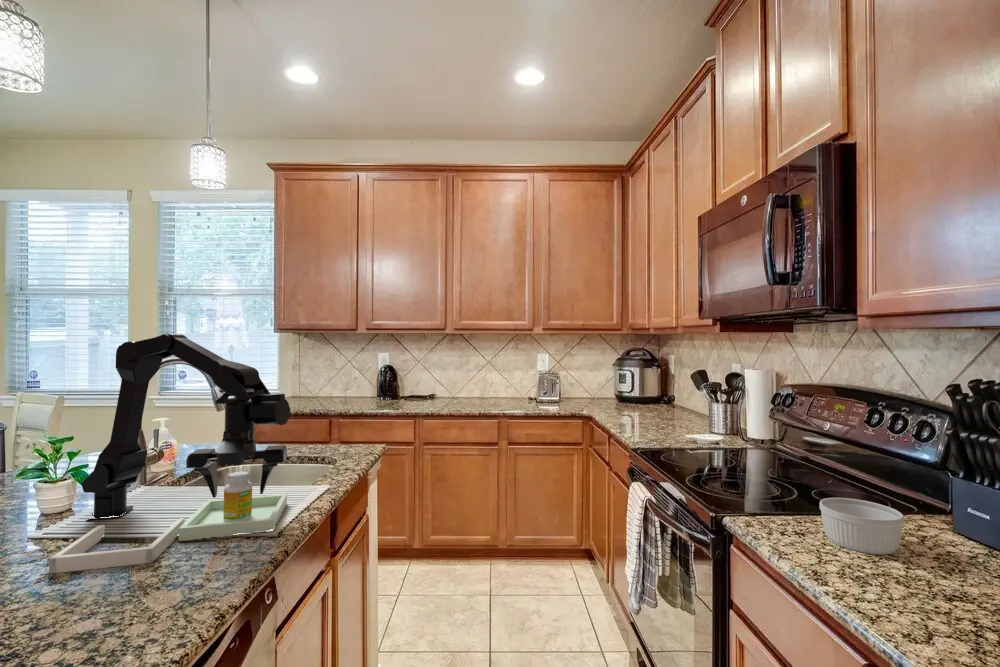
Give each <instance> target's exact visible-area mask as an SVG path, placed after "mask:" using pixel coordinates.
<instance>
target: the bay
mask: <svg viewBox="0 0 1000 667" xmlns="http://www.w3.org/2000/svg"><path fill="white" fill-rule="evenodd" d="M185 522H186V521H185V517H183V518H182V517H181V518H180V517H179V518H178V519H176V521H174V523H172V524H171V525H170V526H169V527H168V528H167V529H166V530H165V531H164V532H163V533H162V534H160V535H159V536H158V537H157V538H156V539H155V540H154V541H153V542H151V544H150V545H149V546H144V547H143V546H142V547H134V548H133V547H132V548H123V549H122V548H121V549H113V550H103V551H91V552H86V551H88V550H90V549H91V548H92V547H94V546H95V545H96V544H97V543H99V542H100V541H102V540H101V537H102V536H103V535H104V536H105V528H106V527H105V524H100V525H99V524H98V525H97V526H95V527H94V528H92V529H91V530H90V531H88V532H87V533H85V534H84V535H82V536H81V537H80V538H78V539H76V540H75V541H73V542H72V543H70V544H68V546H66V547H65V548H63V549H61V550H59V552H57V553H56V554H54V555H53V556H51V557H50V558H48V574H59V573H68V572H78V571H79V572H80V571H87V570H97V569H103V568H104V569H105V568H114V567H116V568H117V567H124V566H133V565H140V564H141V565H143V564H151V563H153V562H155V560H156V559H157V558H159V557H160V555H161V554H163V552H165V550H166V549H168V548H169V546H170V545H171V544H172V543H173V542H174V541H175V540H176V539H177V538H176V536H177V535H178V534H179V528H180V527H181V526H182V525H183V524H184V523H185ZM175 538H176V539H175Z"/></svg>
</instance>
